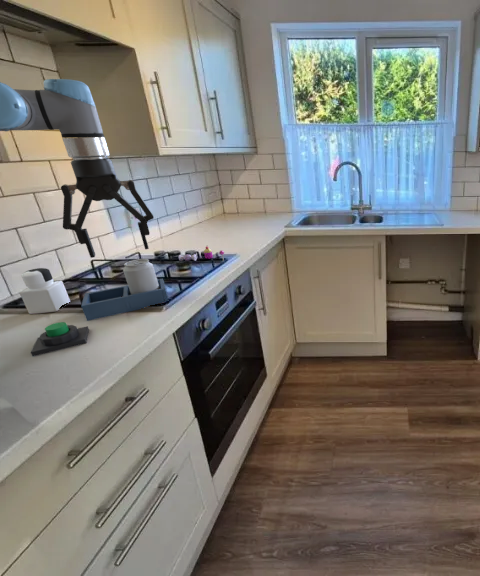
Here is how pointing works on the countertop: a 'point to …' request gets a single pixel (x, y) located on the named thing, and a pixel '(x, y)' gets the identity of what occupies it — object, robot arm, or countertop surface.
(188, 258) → the set of multicoloured pieces
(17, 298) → the countertop surface
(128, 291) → the rack
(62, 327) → the button
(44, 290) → the medicine bottle
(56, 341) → the control block
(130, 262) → the can
